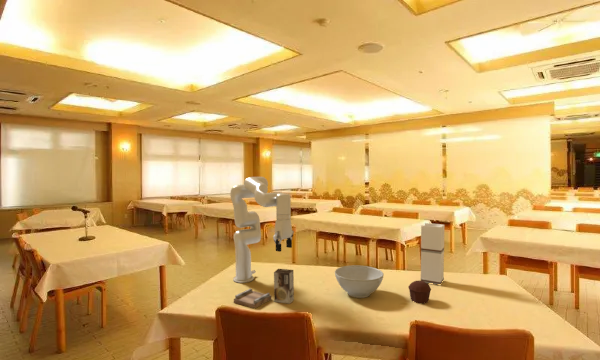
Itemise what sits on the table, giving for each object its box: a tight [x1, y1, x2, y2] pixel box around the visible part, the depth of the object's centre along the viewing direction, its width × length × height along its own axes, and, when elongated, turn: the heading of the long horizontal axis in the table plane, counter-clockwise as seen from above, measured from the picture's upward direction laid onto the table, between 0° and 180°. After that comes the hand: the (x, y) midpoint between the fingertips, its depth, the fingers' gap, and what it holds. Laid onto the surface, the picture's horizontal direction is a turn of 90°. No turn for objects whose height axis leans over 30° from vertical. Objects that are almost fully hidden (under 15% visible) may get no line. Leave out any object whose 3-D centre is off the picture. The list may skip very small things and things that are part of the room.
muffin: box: [408, 280, 432, 304], centre depth 178 cm, size 12×11×10 cm
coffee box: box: [273, 268, 295, 305], centre depth 178 cm, size 9×6×16 cm
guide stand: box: [233, 288, 272, 309], centre depth 178 cm, size 14×14×4 cm
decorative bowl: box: [334, 264, 384, 299], centre depth 188 cm, size 27×27×12 cm
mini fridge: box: [420, 222, 445, 284], centre depth 206 cm, size 11×11×35 cm
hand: (283, 249), depth 177 cm, fingers open, 9 cm apart
